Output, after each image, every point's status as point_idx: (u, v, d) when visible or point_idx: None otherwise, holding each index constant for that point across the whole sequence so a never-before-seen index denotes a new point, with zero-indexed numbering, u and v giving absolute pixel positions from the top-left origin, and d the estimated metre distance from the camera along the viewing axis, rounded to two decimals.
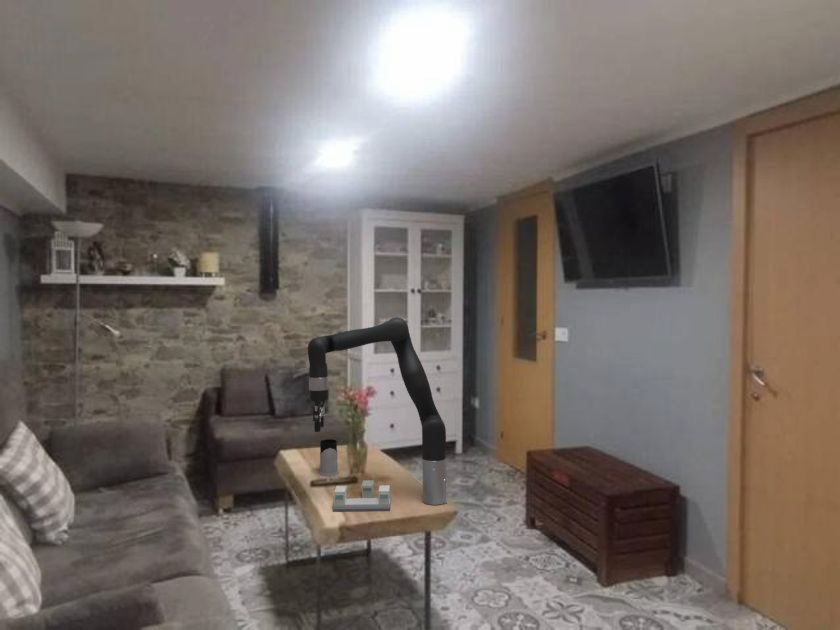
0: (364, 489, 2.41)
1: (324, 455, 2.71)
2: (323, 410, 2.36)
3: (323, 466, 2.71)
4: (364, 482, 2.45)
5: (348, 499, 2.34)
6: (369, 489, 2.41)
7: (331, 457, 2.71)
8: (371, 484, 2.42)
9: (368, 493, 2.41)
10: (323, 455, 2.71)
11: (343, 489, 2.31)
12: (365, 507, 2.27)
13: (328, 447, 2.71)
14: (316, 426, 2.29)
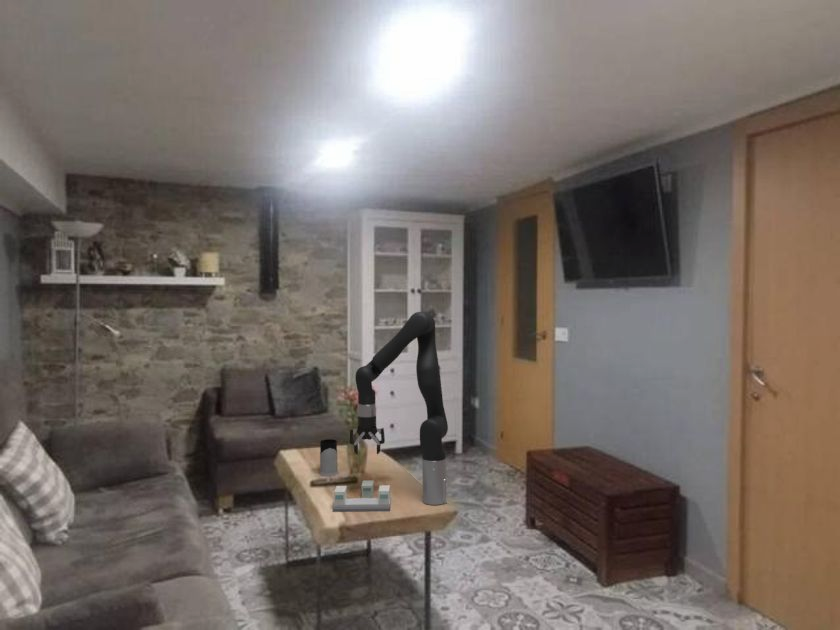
0: (364, 489, 2.41)
1: (324, 455, 2.71)
2: None
3: (323, 466, 2.71)
4: (364, 482, 2.45)
5: (348, 499, 2.34)
6: (369, 489, 2.41)
7: (331, 457, 2.71)
8: (371, 484, 2.42)
9: (368, 493, 2.41)
10: (323, 455, 2.71)
11: (343, 489, 2.31)
12: (365, 507, 2.27)
13: (328, 447, 2.71)
14: None
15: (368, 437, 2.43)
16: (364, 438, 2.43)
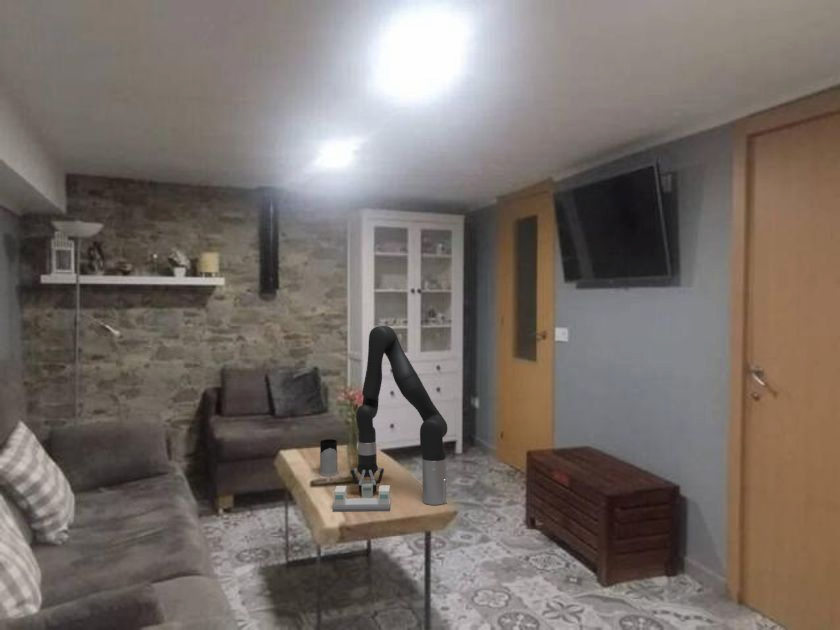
0: (364, 489, 2.41)
1: (324, 455, 2.71)
2: None
3: (323, 466, 2.71)
4: (364, 482, 2.45)
5: (348, 499, 2.34)
6: (369, 489, 2.41)
7: (331, 457, 2.71)
8: (371, 484, 2.43)
9: (368, 493, 2.41)
10: (323, 455, 2.71)
11: (343, 489, 2.31)
12: (365, 507, 2.27)
13: (328, 447, 2.71)
14: (376, 488, 2.44)
15: (368, 475, 2.43)
16: (364, 476, 2.43)
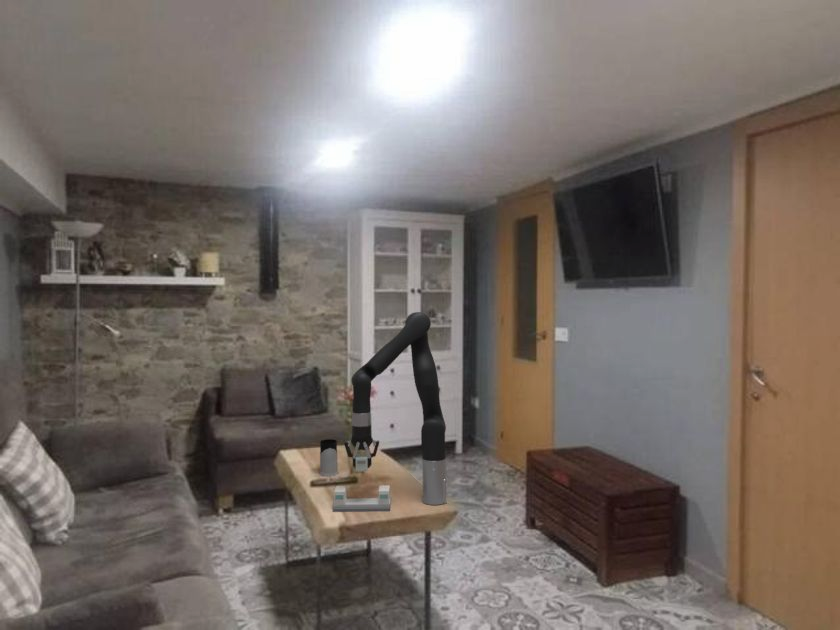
0: (358, 462, 2.27)
1: (324, 455, 2.71)
2: None
3: (323, 466, 2.71)
4: (358, 455, 2.32)
5: (348, 499, 2.34)
6: (363, 462, 2.27)
7: (331, 457, 2.71)
8: (366, 457, 2.29)
9: (362, 466, 2.28)
10: (323, 455, 2.71)
11: (343, 489, 2.31)
12: (365, 507, 2.27)
13: (328, 447, 2.71)
14: None
15: (363, 447, 2.30)
16: (359, 449, 2.30)
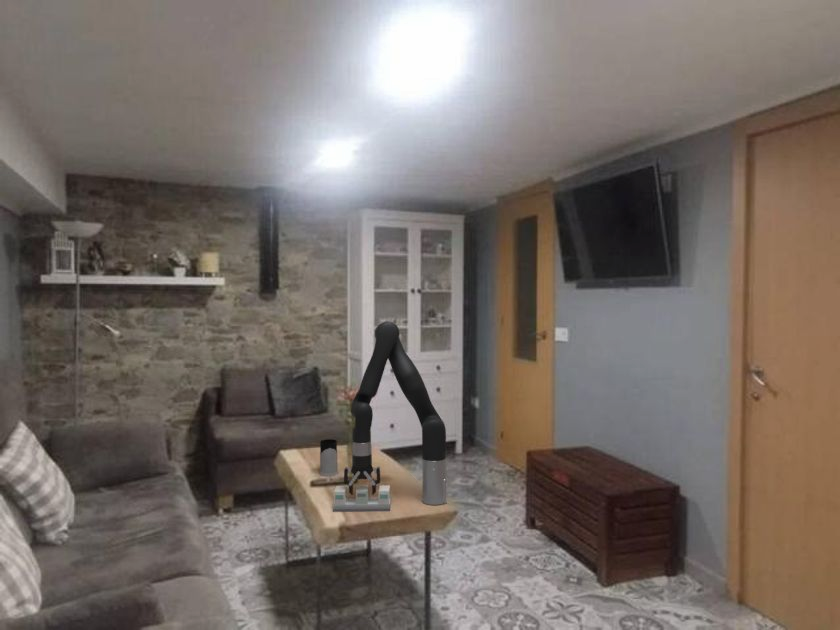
0: (358, 495, 2.28)
1: (324, 455, 2.71)
2: None
3: (323, 466, 2.71)
4: (359, 487, 2.32)
5: (348, 499, 2.34)
6: (364, 495, 2.28)
7: (331, 457, 2.71)
8: (366, 489, 2.29)
9: (362, 499, 2.28)
10: (323, 455, 2.71)
11: (343, 489, 2.31)
12: (365, 507, 2.27)
13: (328, 447, 2.71)
14: (375, 488, 2.31)
15: (363, 477, 2.30)
16: (359, 478, 2.30)
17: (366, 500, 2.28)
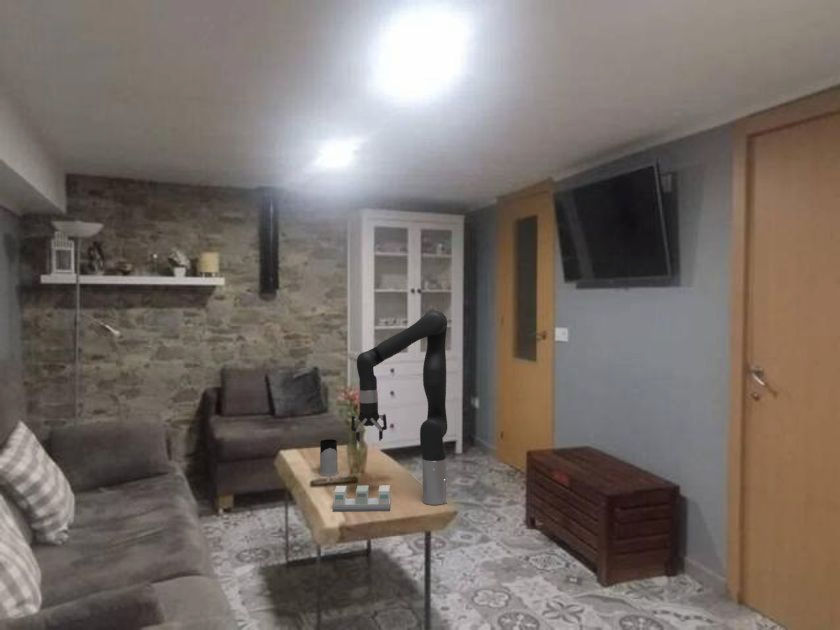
0: (358, 495, 2.28)
1: (324, 455, 2.71)
2: None
3: (323, 466, 2.71)
4: (359, 487, 2.32)
5: (348, 499, 2.34)
6: (364, 495, 2.28)
7: (331, 457, 2.71)
8: (366, 489, 2.29)
9: (362, 499, 2.28)
10: (323, 455, 2.71)
11: (343, 489, 2.31)
12: (365, 507, 2.27)
13: (328, 447, 2.71)
14: (382, 434, 2.41)
15: (370, 423, 2.40)
16: (366, 425, 2.40)
17: (366, 500, 2.28)
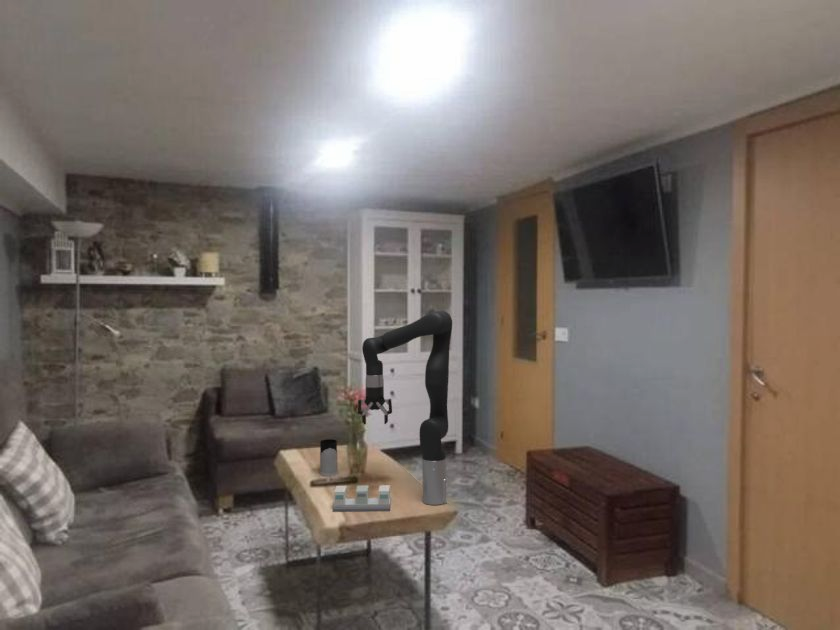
0: (358, 495, 2.28)
1: (324, 455, 2.71)
2: None
3: (323, 466, 2.71)
4: (359, 487, 2.32)
5: (348, 499, 2.34)
6: (364, 495, 2.28)
7: (331, 457, 2.71)
8: (366, 489, 2.29)
9: (362, 499, 2.28)
10: (323, 455, 2.71)
11: (343, 489, 2.31)
12: (365, 507, 2.27)
13: (328, 447, 2.71)
14: (387, 418, 2.48)
15: (376, 407, 2.47)
16: (372, 408, 2.47)
17: (366, 500, 2.28)
